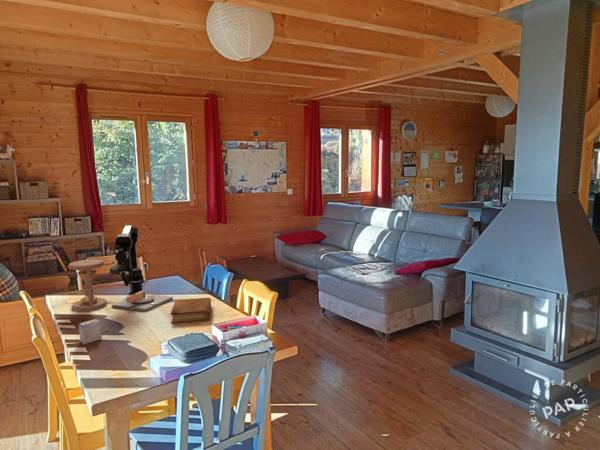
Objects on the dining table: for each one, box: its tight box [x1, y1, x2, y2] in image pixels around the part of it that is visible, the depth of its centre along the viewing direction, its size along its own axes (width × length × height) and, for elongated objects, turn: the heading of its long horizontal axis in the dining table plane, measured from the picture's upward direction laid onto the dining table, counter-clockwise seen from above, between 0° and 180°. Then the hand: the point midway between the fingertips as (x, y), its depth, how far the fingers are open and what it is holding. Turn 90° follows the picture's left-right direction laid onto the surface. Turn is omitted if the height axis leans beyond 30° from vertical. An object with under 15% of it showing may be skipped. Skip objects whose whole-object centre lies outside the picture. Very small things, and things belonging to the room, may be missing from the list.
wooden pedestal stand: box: [68, 258, 108, 312], centre depth 243 cm, size 18×18×25 cm
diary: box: [170, 297, 212, 325], centre depth 228 cm, size 23×19×6 cm
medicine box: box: [78, 318, 103, 345], centre depth 196 cm, size 8×4×9 cm, turn 141°
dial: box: [126, 290, 155, 304], centre depth 246 cm, size 17×12×5 cm
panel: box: [111, 294, 174, 313], centre depth 249 cm, size 23×23×2 cm
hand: (126, 286), depth 241 cm, fingers closed
